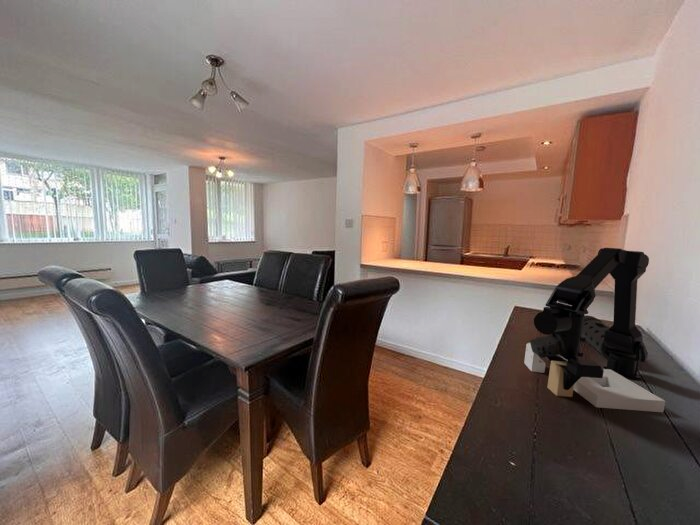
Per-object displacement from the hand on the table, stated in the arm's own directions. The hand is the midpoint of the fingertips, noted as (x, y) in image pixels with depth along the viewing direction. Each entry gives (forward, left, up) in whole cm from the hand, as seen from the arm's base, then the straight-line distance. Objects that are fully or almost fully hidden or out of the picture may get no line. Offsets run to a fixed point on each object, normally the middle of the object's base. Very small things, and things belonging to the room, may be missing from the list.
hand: (560, 385), depth 77 cm
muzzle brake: (-36, -34, -2) cm, 50 cm away
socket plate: (-13, -2, -2) cm, 13 cm away
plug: (0, 0, -2) cm, 2 cm away
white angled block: (-1, -14, -2) cm, 14 cm away
